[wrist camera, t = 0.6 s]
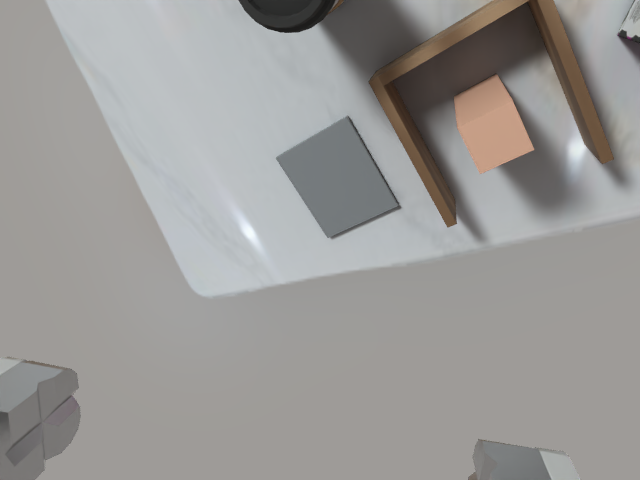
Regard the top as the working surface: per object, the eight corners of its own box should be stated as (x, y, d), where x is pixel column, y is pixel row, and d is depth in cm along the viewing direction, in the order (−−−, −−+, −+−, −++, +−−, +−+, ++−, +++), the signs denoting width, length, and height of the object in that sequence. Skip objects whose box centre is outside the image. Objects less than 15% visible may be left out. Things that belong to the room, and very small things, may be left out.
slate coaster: (347, 115, 51) (346, 117, 51) (398, 204, 55) (398, 206, 54) (277, 156, 56) (275, 157, 55) (328, 235, 59) (327, 238, 59)
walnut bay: (531, -23, 42) (544, -24, 36) (595, 139, 47) (614, 159, 42) (376, 71, 48) (368, 82, 43) (447, 204, 54) (447, 227, 49)
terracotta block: (496, 73, 46) (512, 100, 36) (514, 113, 47) (534, 149, 37) (453, 96, 48) (457, 127, 38) (472, 134, 49) (480, 174, 39)
